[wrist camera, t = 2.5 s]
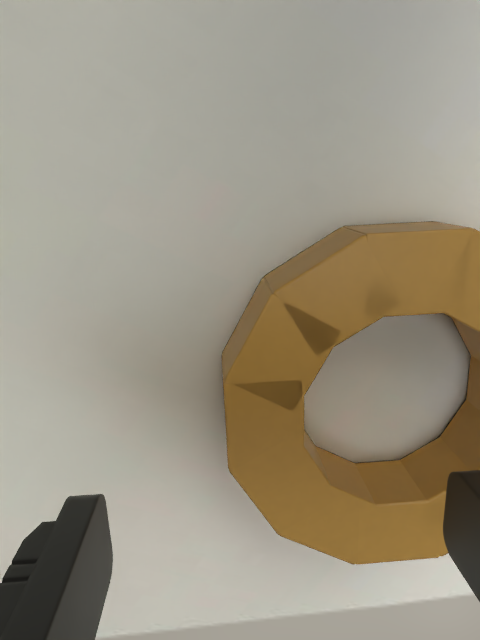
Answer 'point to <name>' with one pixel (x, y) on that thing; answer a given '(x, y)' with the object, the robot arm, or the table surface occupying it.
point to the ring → (304, 364)
